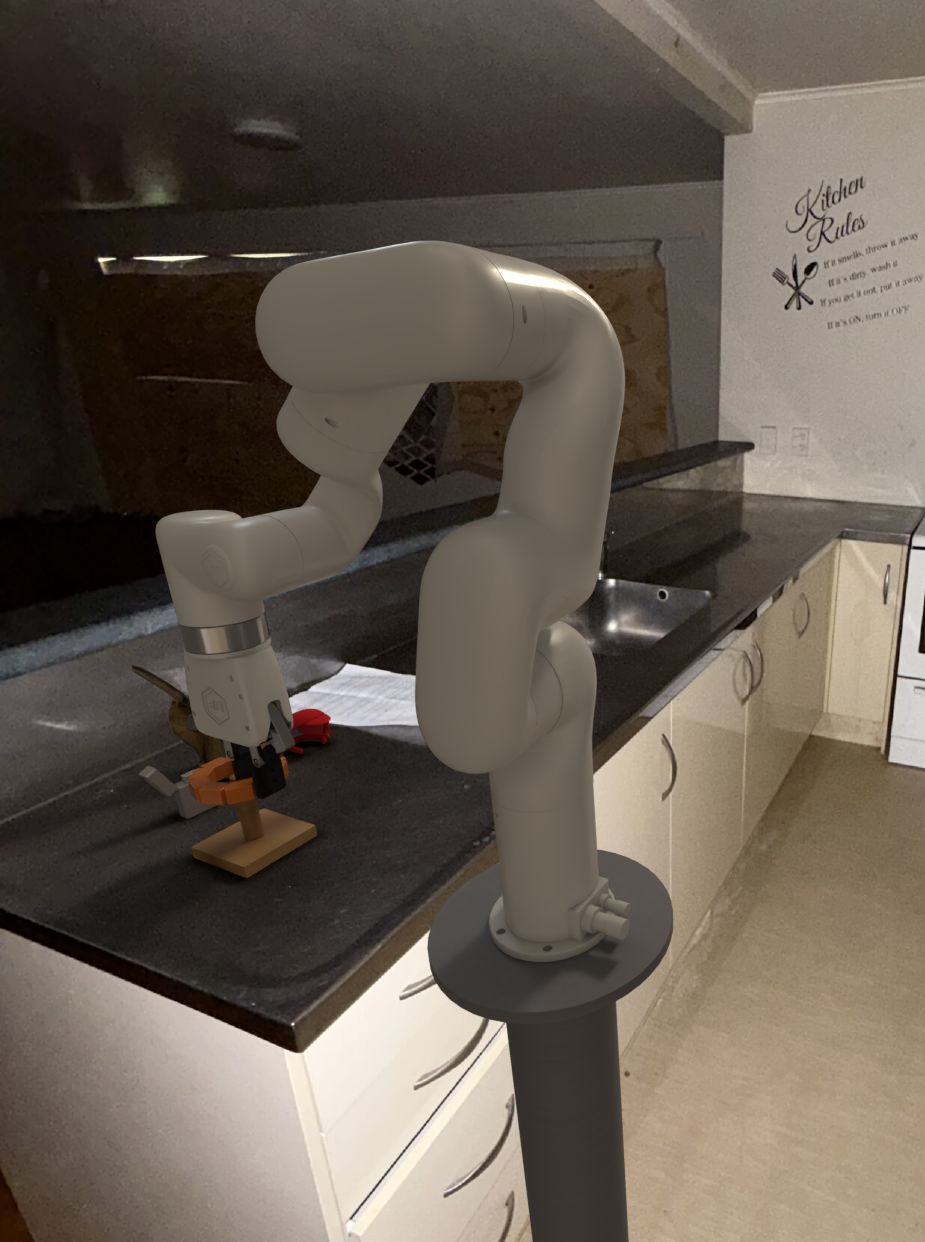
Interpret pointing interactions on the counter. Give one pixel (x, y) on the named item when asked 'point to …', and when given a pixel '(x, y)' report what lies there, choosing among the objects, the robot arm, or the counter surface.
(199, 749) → the wooden mug
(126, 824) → the counter surface
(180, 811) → the lighter
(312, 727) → the red helmet
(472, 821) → the counter surface
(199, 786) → the ring
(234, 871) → the stand
